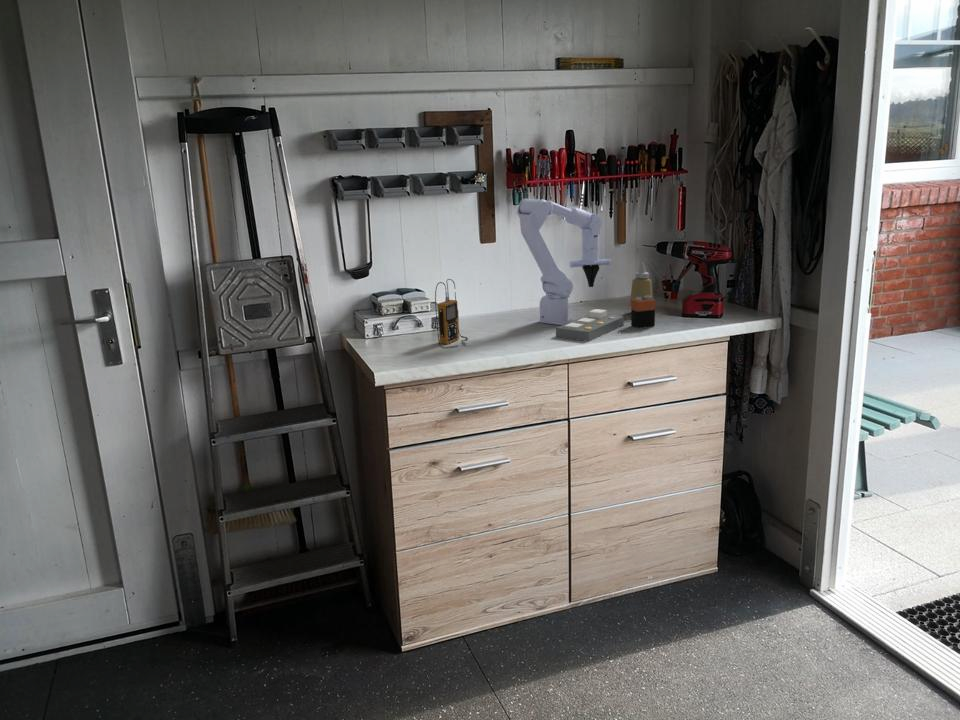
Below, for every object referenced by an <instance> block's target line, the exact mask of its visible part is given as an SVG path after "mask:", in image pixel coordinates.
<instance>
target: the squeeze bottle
mask: <svg viewBox="0 0 960 720" xmlns="http://www.w3.org/2000/svg"><path fill="white" fill-rule="evenodd" d="M634 275H635V276H634V277H635V278H633V279H632V283H631V289H630V290H631V292H630V299H629V300H630V301H629V304H630V305H631V301H632V299H636V297H641V298H645V297H644V296H651V297H650V298H652V299H654V298H653V286H652V279H650V278H649V277H650V276H649V275H650V273H649V272H647V270H646V266H645V262H643V261H642V262H640V264H639V269H638V271H637V272H635V274H634Z"/></svg>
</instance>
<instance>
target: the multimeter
mask: <svg viewBox="0 0 960 720" xmlns="http://www.w3.org/2000/svg"><path fill="white" fill-rule="evenodd" d="M448 281H452V283H453V285H454V288H456V284H455V281H454V280H453V279H452V278H451V279H450V278H448V279H446V284H445V283H444V282H442V281H441V282H440V281H439V282H437V284H436V286H435V292H434V293H435V295H434V303H435V305H434V306H435V308H437V309H435V319H436V331H437V338H438V339H437V340H438V344H439V347H440V348H441V349H450V348H449V347H451V348H458V347H459V346H462V344H464V346H468V344H467V342H465V341H467V340H468V339H469V338H468V337H466V336H462V335H461V334H460V328H459V327H460V326H459V325H460V323H459V308H458V306H459V305H458V300H457V295H456V293H454V299H450V293H449V284H448ZM439 284H443V285H444V289H445V291H446V292H445V293H444V294H445V298H444V299H445V301H442V302H438V304H437V289H438V288H437V287H438V285H439ZM460 337H461V338H465V339H461V342H462V344H455V345H450V346H446V347H445V346H444V347H443V346H441V344H442V345H449V344H450V343H453V342H456V341H459V339H460Z"/></svg>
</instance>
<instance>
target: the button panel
mask: <svg viewBox="0 0 960 720" xmlns="http://www.w3.org/2000/svg"><path fill="white" fill-rule="evenodd" d="M582 318H589V313H588V314H586V315H584V316H582V317H578V318H576V319H573V321H571V322H568V323H566V324H564V325H558V326H557V327H555V337H556V336H557V337H556V338H561V337H564V338H563V339H568V338H571V339H570V340H576V339H579V340H578V341H583V340H586V341H585V342H591V341H593V340H595V339H597V338H599V337H602V336H604V335H606V334H608V333H611V332H612V331H615V330H616V328H617V329H619V328H621V327H623V326H624V325H625V321H624V320H625V317H624V316H622V315H611V314H607V317H605V318H602V319H597V318H590V319H596V321H595V322H593V323H591V324H586V323H578V322H577V320H580V319H582ZM570 323H578V324H584V327H581V328H579V329H572V328H565V325H568V324H570ZM620 326H621V327H620ZM618 327H619V328H618ZM614 329H615V330H614ZM607 332H608V333H607ZM605 333H606V334H605ZM603 334H604V335H603ZM601 335H602V336H601ZM592 339H593V340H592ZM590 340H591V341H590Z"/></svg>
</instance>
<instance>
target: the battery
mask: <svg viewBox="0 0 960 720" xmlns="http://www.w3.org/2000/svg"><path fill="white" fill-rule="evenodd" d="M644 297H645V298H641V297H636V299H632V301H631V304H630V307H631V309H630V313H631V315H630V325H631V326H632V327H634V328H636V329H641V328H651V327H655V324H656V323H655V322H656V299H655V298H653V299H652V298H650V297H651V296H644Z"/></svg>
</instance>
